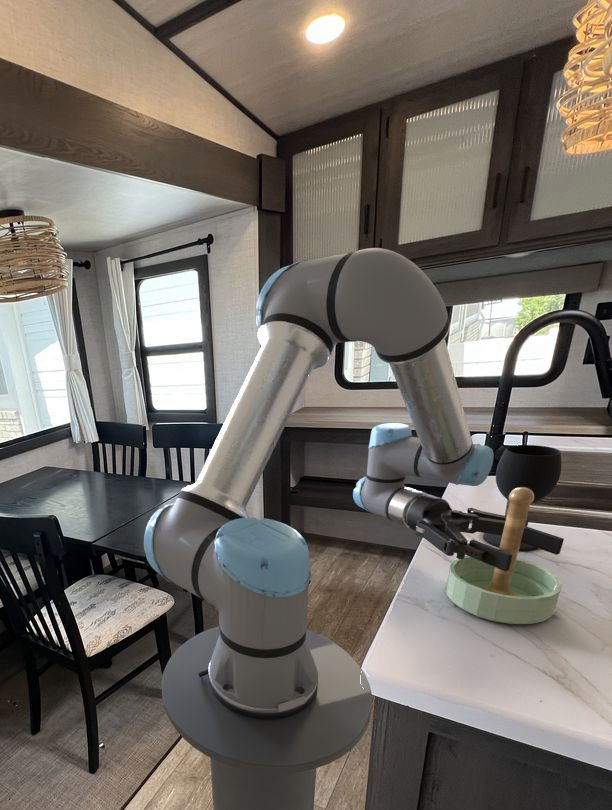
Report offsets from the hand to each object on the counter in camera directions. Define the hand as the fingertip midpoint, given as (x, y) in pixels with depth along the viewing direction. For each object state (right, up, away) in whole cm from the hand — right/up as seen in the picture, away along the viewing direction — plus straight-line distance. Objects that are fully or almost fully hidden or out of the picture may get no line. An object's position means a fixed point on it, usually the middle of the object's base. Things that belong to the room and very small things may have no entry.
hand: (535, 554), depth 73 cm
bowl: (0, -9, +8) cm, 12 cm away
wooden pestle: (0, -8, +8) cm, 11 cm away
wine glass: (+17, +2, +28) cm, 33 cm away
